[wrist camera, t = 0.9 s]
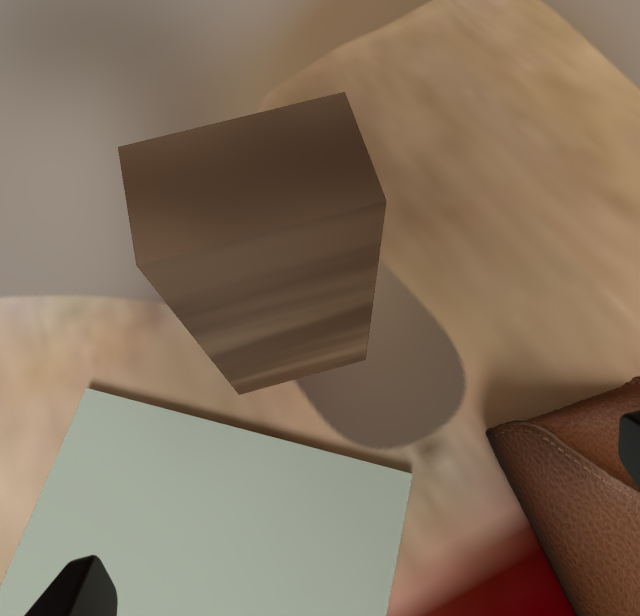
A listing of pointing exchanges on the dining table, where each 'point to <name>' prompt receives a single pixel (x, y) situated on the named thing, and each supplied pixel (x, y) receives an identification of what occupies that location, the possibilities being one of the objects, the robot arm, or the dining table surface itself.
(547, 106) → the dining table surface
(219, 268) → the brown wooden block
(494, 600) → the dining table surface
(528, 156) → the dining table surface
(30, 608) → the robot arm
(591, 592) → the sunglasses case
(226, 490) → the mat
